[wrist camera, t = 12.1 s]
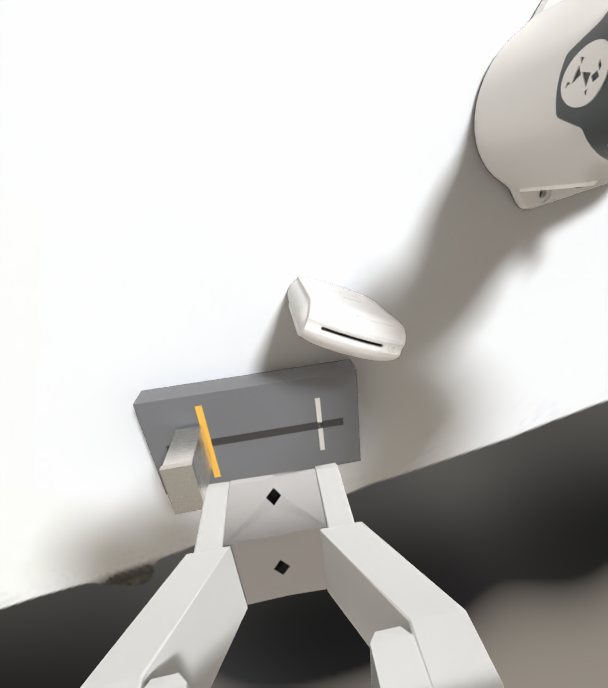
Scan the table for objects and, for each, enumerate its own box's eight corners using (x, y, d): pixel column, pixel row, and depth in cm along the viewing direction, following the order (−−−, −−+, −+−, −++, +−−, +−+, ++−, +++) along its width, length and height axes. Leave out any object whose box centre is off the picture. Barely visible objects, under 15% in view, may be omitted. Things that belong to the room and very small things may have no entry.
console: (349, 359, 42) (356, 370, 39) (354, 445, 48) (360, 461, 45) (141, 390, 40) (132, 405, 37) (172, 476, 46) (166, 494, 43)
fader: (202, 424, 39) (191, 464, 33) (213, 464, 42) (205, 508, 36) (174, 429, 39) (159, 470, 33) (187, 468, 42) (175, 514, 35)
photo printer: (375, 296, 39) (422, 333, 28) (362, 328, 41) (401, 377, 29) (294, 269, 37) (309, 299, 26) (282, 305, 38) (292, 347, 27)
